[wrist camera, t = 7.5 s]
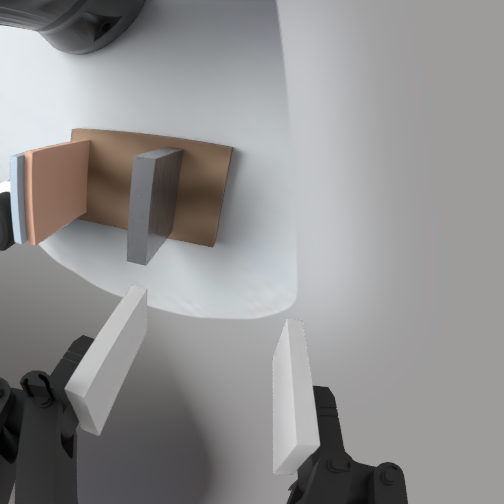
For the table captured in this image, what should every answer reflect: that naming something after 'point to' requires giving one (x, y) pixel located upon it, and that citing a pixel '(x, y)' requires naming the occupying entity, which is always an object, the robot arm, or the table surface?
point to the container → (7, 217)
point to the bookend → (152, 201)
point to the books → (48, 189)
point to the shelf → (189, 187)
